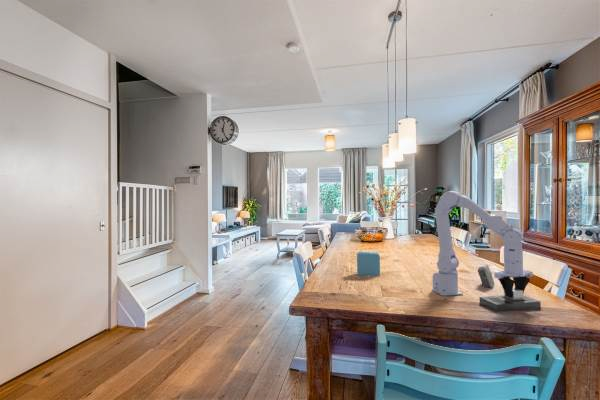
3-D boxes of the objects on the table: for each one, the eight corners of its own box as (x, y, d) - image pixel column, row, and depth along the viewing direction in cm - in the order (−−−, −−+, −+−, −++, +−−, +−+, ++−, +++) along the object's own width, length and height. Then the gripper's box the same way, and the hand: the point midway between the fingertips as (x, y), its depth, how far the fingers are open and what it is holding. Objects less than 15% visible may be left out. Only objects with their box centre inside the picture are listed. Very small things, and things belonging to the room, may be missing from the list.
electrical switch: (493, 288, 125) (490, 268, 126) (479, 287, 128) (476, 267, 129) (494, 283, 133) (492, 264, 133) (481, 283, 136) (479, 263, 136)
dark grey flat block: (497, 311, 100) (496, 304, 100) (479, 303, 108) (479, 296, 108) (540, 308, 102) (540, 301, 102) (520, 300, 110) (520, 294, 110)
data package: (379, 274, 153) (379, 252, 153) (380, 276, 148) (379, 253, 148) (357, 273, 155) (357, 251, 155) (357, 275, 151) (356, 253, 151)
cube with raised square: (513, 304, 103) (513, 290, 103) (504, 300, 107) (504, 287, 107) (523, 303, 104) (522, 290, 104) (513, 299, 108) (513, 286, 108)
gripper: (505, 263, 100) (506, 301, 100) (540, 261, 102) (541, 298, 102) (489, 259, 107) (490, 294, 107) (522, 257, 109) (523, 292, 109)
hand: (513, 296), depth 105 cm, fingers closed on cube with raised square, 4 cm apart
